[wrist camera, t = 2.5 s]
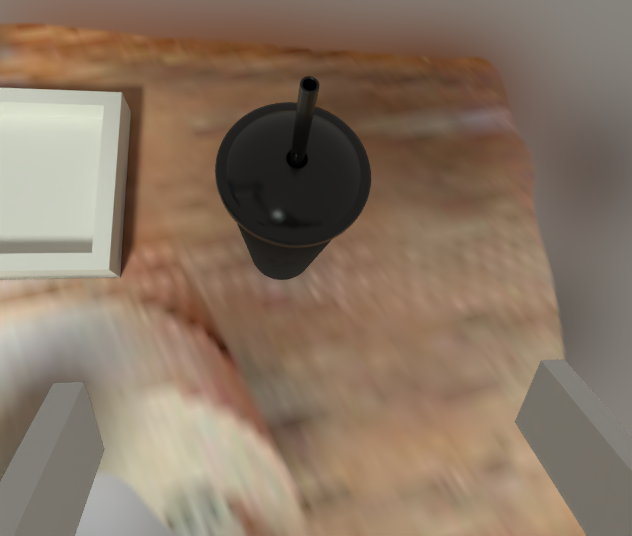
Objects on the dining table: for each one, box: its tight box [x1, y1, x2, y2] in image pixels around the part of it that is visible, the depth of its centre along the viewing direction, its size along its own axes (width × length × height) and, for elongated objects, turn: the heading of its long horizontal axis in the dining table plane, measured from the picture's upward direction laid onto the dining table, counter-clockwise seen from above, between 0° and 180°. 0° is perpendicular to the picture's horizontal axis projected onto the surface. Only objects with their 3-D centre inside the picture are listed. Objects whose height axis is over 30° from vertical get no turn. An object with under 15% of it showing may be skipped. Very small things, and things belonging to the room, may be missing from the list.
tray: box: [0, 88, 131, 280], centre depth 31 cm, size 16×14×2 cm
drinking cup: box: [215, 76, 371, 280], centre depth 24 cm, size 8×8×20 cm
